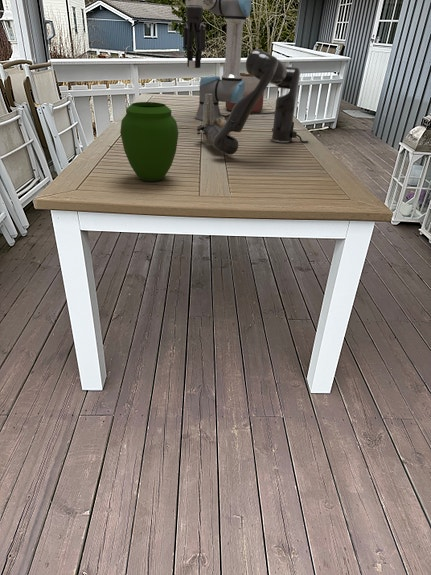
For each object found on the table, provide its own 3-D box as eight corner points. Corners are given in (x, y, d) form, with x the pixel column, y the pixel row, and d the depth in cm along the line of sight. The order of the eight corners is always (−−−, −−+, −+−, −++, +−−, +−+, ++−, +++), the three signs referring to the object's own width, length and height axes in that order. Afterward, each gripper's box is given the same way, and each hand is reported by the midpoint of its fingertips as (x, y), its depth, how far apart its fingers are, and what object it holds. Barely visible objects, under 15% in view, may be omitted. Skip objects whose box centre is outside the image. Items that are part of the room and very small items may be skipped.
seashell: (228, 132, 219) (229, 116, 215) (229, 134, 214) (230, 118, 210) (210, 131, 218) (211, 115, 213) (211, 134, 213) (212, 117, 209)
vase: (131, 189, 135) (125, 110, 122) (118, 172, 150) (112, 100, 137) (186, 184, 142) (187, 109, 129) (169, 168, 157) (167, 99, 144)
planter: (266, 114, 273) (270, 77, 261) (229, 113, 269) (231, 75, 257) (257, 107, 294) (260, 73, 283) (222, 107, 290) (224, 72, 278)
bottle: (209, 140, 201) (211, 93, 189) (214, 143, 197) (216, 94, 186) (200, 141, 198) (201, 93, 187) (205, 143, 195) (206, 94, 184)
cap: (187, 66, 192) (187, 60, 191) (196, 66, 194) (196, 60, 193) (191, 67, 189) (191, 61, 188) (200, 67, 191) (200, 61, 190)
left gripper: (174, 6, 182) (175, 65, 194) (202, 6, 172) (201, 69, 184) (187, 7, 186) (187, 65, 199) (214, 7, 176) (212, 68, 189)
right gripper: (231, 126, 182) (221, 118, 196) (200, 126, 179) (191, 118, 193) (230, 143, 186) (220, 135, 200) (199, 143, 183) (191, 135, 197)
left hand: (193, 67), depth 192 cm, fingers closed on cap, 5 cm apart
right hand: (206, 127), depth 196 cm, fingers closed on bottle, 5 cm apart
